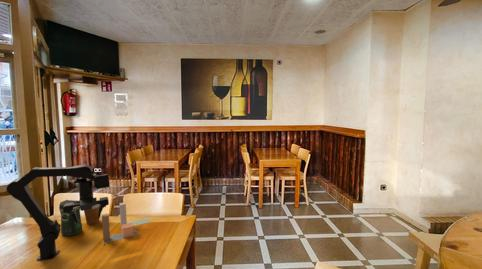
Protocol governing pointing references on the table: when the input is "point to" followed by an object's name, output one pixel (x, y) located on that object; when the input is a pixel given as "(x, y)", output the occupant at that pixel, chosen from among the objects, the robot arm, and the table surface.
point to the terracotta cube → (127, 230)
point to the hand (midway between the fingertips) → (88, 220)
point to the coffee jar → (70, 220)
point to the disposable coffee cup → (92, 215)
